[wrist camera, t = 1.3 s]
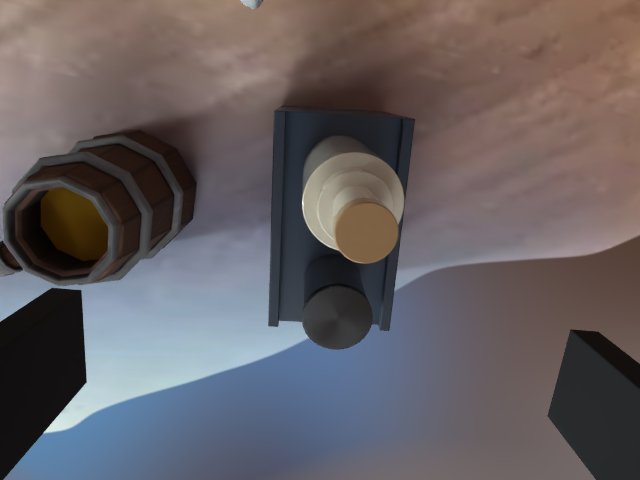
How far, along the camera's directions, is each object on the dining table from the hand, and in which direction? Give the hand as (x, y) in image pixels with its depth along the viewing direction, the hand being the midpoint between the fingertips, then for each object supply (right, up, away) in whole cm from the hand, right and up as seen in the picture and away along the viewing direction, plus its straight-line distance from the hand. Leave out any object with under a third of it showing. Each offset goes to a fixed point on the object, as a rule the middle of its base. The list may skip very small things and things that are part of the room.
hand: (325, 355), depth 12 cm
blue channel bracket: (+1, +8, +34) cm, 34 cm away
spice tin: (+1, 0, +25) cm, 25 cm away
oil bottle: (+1, +8, +22) cm, 23 cm away
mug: (-20, +7, +33) cm, 40 cm away
